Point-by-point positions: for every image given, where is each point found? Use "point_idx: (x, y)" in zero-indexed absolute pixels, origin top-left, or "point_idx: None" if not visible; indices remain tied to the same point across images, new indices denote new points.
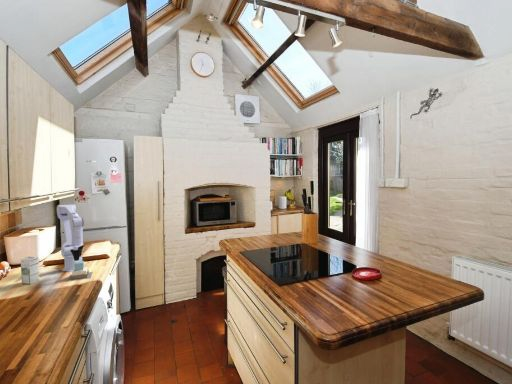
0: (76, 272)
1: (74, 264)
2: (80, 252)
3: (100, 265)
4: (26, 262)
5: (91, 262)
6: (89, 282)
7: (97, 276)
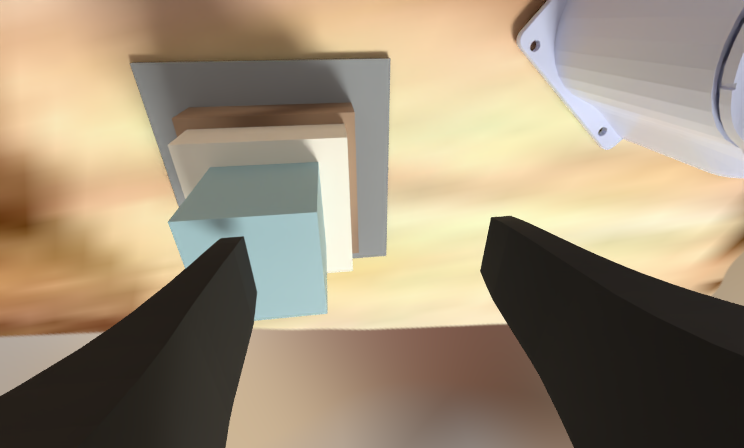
0: (187, 188)
1: (173, 216)
2: (535, 344)
3: None
4: None
5: (705, 191)
6: (102, 275)
7: None
